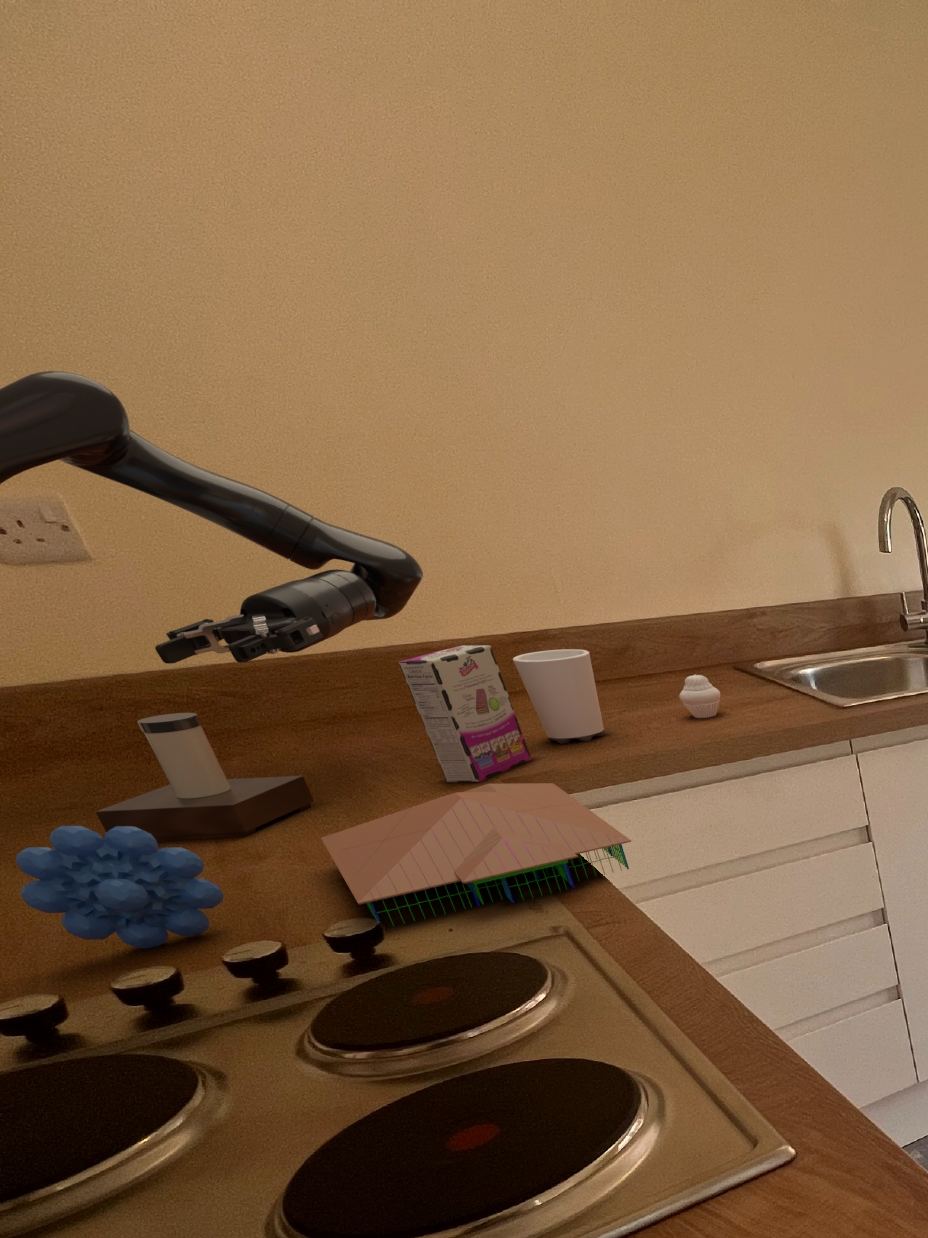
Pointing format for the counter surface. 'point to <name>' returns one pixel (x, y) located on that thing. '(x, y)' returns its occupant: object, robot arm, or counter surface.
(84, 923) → the blue flower
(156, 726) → the spice jar
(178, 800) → the platform
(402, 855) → the house
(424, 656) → the candy bar box
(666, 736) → the counter surface
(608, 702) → the counter surface
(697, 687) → the muffin
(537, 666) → the cup
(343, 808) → the counter surface
